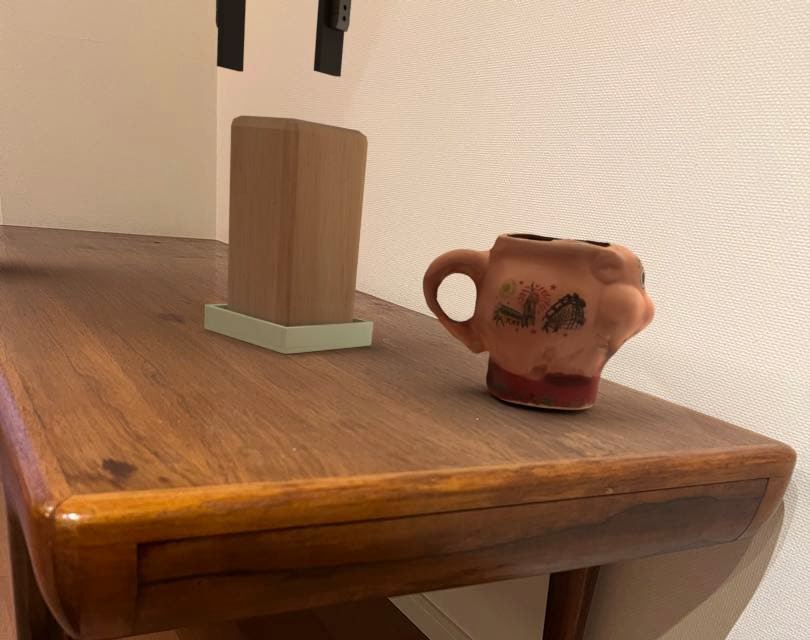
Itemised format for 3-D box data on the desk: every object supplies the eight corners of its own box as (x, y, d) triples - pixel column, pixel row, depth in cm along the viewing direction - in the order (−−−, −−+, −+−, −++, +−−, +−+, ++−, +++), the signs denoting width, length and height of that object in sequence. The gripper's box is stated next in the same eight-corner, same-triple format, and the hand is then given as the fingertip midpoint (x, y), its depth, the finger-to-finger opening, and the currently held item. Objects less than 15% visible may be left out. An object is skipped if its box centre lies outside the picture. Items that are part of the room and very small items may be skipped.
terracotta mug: (418, 406, 63) (441, 224, 58) (404, 372, 74) (422, 216, 69) (651, 427, 66) (695, 254, 60) (604, 391, 77) (638, 242, 71)
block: (223, 324, 83) (226, 113, 75) (297, 322, 90) (307, 128, 82) (280, 344, 77) (291, 117, 69) (354, 340, 84) (373, 132, 76)
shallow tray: (204, 328, 83) (204, 304, 82) (292, 323, 92) (293, 301, 91) (284, 354, 76) (286, 328, 75) (371, 345, 85) (373, 322, 84)
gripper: (436, -226, 61) (401, 83, 70) (231, -181, 74) (224, 74, 83) (372, -276, 55) (343, 67, 64) (163, -218, 69) (163, 59, 78)
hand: (276, 71), depth 74 cm, fingers open, 13 cm apart
